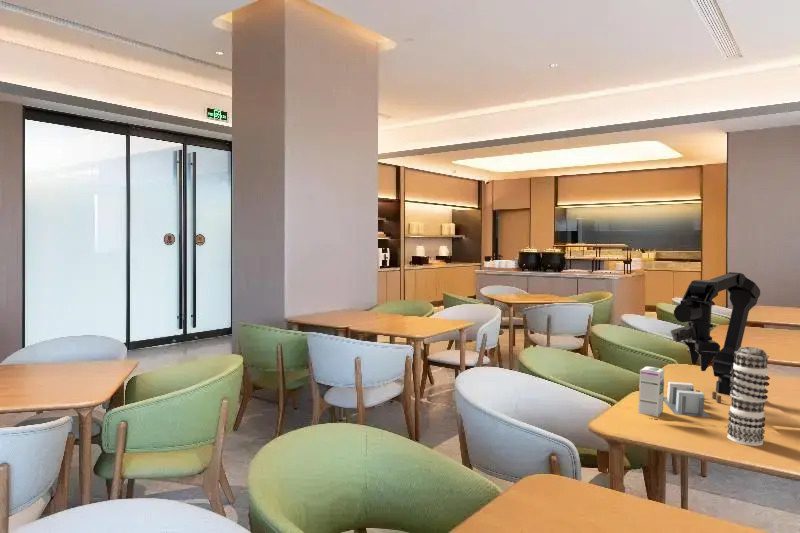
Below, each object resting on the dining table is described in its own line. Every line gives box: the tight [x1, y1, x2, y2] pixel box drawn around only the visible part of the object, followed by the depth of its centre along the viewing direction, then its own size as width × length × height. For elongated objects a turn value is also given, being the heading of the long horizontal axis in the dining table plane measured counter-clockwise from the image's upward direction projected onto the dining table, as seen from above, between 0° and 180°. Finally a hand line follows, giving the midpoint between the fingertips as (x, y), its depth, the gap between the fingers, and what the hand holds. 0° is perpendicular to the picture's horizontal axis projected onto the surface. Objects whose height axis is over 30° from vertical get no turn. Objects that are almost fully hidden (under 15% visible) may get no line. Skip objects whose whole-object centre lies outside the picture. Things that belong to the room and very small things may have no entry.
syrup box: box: [637, 366, 665, 421], centre depth 171 cm, size 6×6×14 cm
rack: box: [663, 386, 711, 418], centre depth 178 cm, size 10×18×7 cm, turn 169°
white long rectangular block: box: [676, 390, 705, 413], centre depth 173 cm, size 7×2×6 cm, turn 79°
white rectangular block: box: [666, 381, 695, 402], centre depth 183 cm, size 7×2×6 cm, turn 79°
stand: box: [695, 389, 722, 404], centre depth 186 cm, size 8×6×3 cm
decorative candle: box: [726, 346, 771, 447], centre depth 153 cm, size 9×9×25 cm
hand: (698, 367), depth 184 cm, fingers open, 9 cm apart
